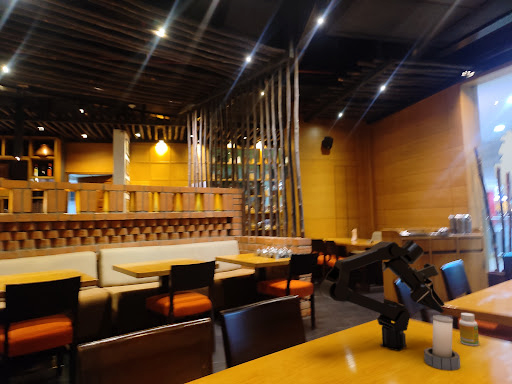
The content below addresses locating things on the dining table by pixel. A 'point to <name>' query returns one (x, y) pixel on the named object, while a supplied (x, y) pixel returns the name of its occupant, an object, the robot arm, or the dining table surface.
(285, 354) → the dining table surface
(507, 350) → the dining table surface
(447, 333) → the duct sleeve
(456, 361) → the collar
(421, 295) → the robot arm
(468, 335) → the supplement bottle
